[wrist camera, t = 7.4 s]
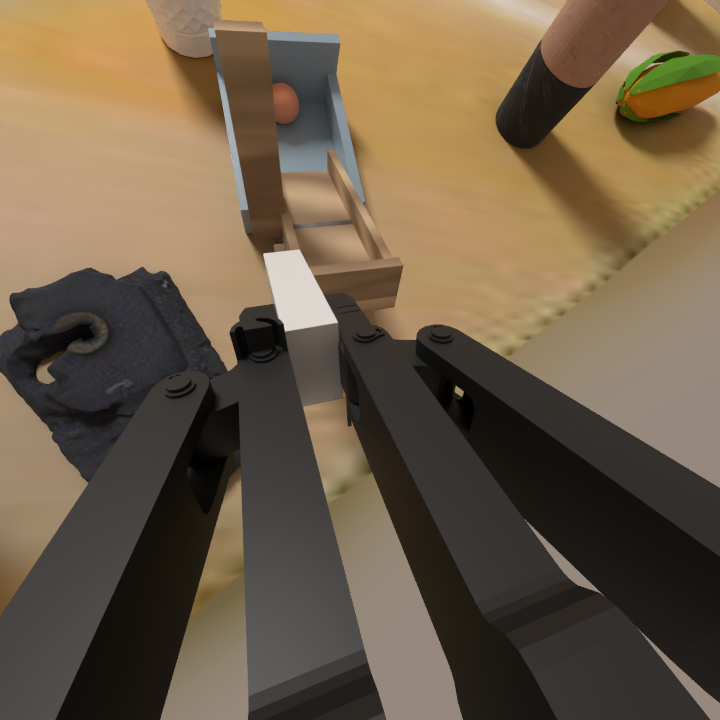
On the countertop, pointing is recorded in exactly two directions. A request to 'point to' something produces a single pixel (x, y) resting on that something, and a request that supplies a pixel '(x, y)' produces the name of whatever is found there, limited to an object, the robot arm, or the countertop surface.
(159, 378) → the dark slate chunk
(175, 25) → the white cup
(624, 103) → the corn
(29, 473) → the countertop surface
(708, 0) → the milk
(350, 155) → the bin
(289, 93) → the ball
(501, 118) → the travel mug
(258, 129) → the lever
